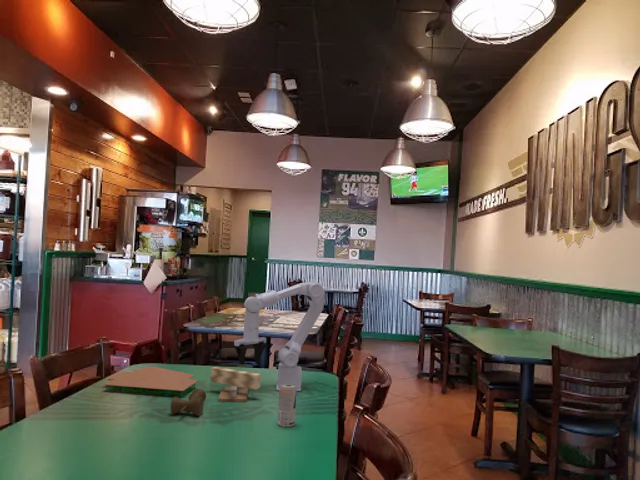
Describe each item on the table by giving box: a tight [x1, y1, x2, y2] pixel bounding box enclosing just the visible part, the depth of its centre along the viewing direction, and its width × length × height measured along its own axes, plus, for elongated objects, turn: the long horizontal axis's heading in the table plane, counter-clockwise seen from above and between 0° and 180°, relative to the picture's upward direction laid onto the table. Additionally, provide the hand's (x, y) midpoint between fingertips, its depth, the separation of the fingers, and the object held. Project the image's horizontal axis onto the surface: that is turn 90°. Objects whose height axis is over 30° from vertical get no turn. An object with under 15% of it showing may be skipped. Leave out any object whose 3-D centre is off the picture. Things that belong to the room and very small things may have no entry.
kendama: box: [170, 388, 207, 417], centre depth 162 cm, size 6×10×20 cm
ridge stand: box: [217, 385, 249, 403], centre depth 182 cm, size 10×16×4 cm, turn 7°
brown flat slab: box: [103, 366, 198, 399], centre depth 188 cm, size 23×33×8 cm
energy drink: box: [277, 384, 297, 428], centre depth 153 cm, size 5×5×12 cm
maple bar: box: [210, 366, 261, 390], centre depth 182 cm, size 20×3×5 cm, turn 65°
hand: (249, 362), depth 190 cm, fingers open, 7 cm apart
